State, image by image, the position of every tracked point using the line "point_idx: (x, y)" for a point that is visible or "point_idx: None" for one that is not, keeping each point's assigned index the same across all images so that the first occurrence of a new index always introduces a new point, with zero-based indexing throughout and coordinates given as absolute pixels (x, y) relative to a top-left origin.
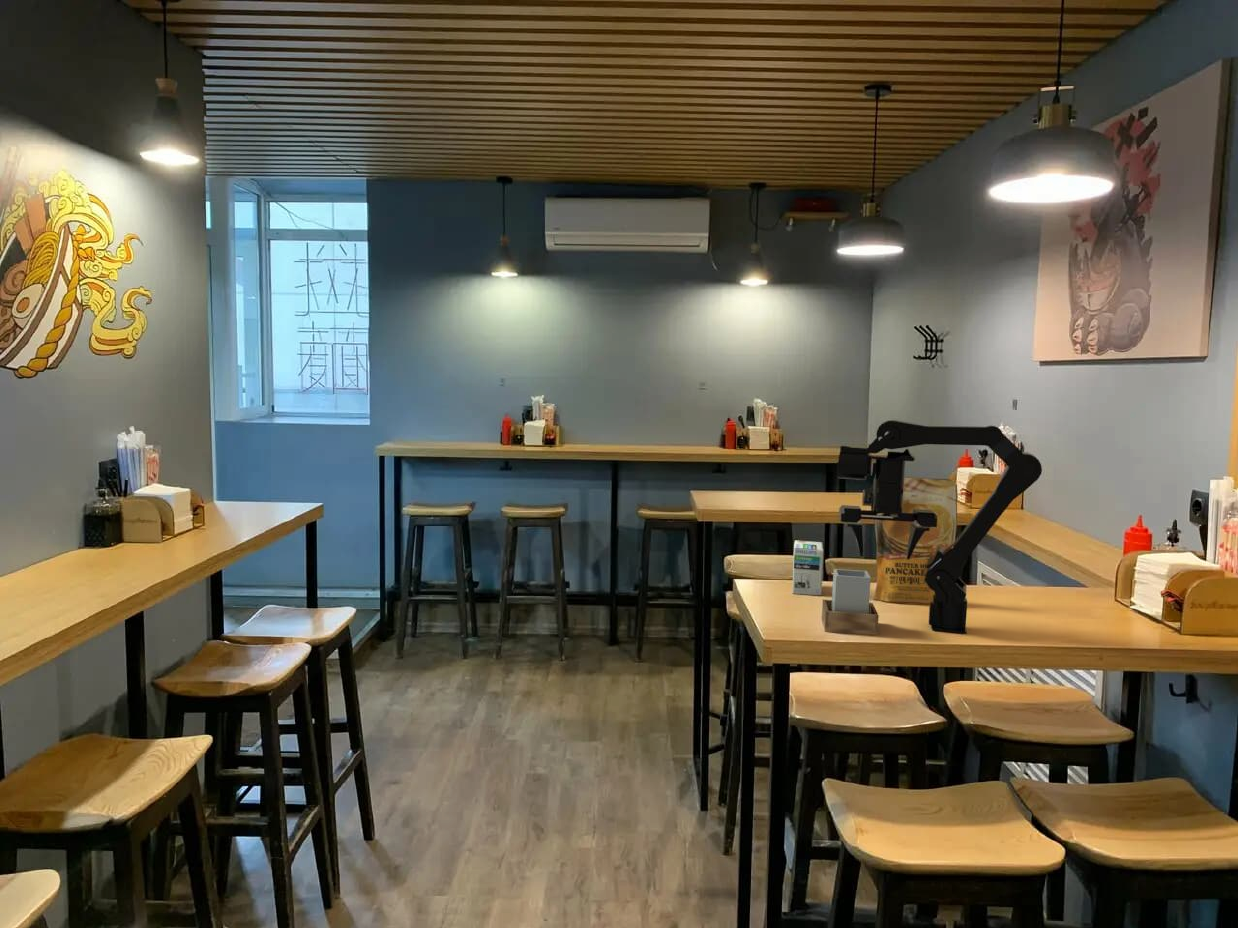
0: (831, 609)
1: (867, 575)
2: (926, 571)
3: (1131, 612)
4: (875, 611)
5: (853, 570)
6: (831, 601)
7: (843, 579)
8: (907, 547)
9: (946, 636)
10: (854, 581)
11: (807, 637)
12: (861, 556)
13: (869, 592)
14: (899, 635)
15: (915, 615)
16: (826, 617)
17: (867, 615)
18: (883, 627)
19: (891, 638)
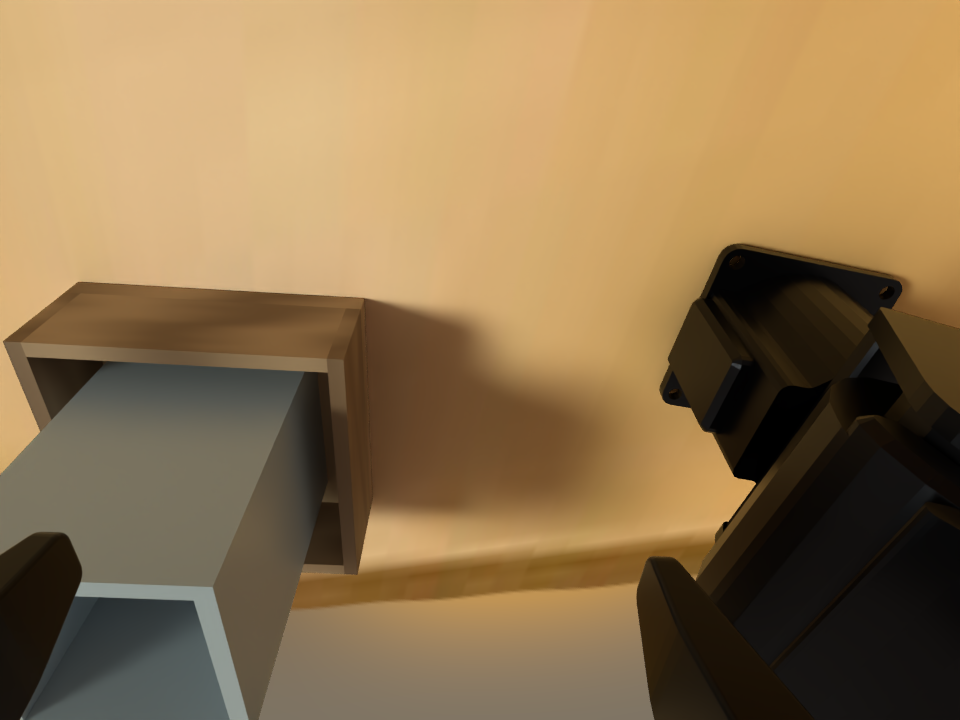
0: (106, 365)
1: (227, 693)
2: (763, 587)
3: None
4: (347, 523)
5: (93, 591)
6: (72, 355)
7: (77, 706)
8: (705, 687)
9: (688, 457)
10: (156, 699)
11: None
12: (70, 577)
13: (279, 640)
14: (471, 479)
15: (702, 61)
16: None
17: (304, 568)
18: (418, 379)
19: (428, 519)
